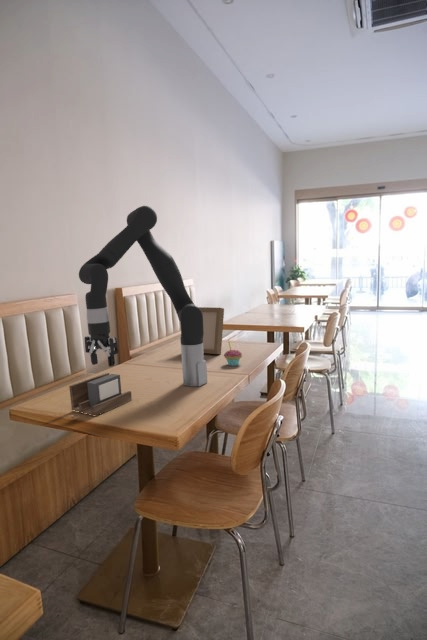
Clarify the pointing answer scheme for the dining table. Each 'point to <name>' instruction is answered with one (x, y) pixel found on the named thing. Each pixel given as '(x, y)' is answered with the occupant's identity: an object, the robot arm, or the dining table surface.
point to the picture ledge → (82, 399)
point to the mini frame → (103, 389)
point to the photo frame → (212, 329)
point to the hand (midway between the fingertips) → (103, 365)
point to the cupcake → (233, 356)
